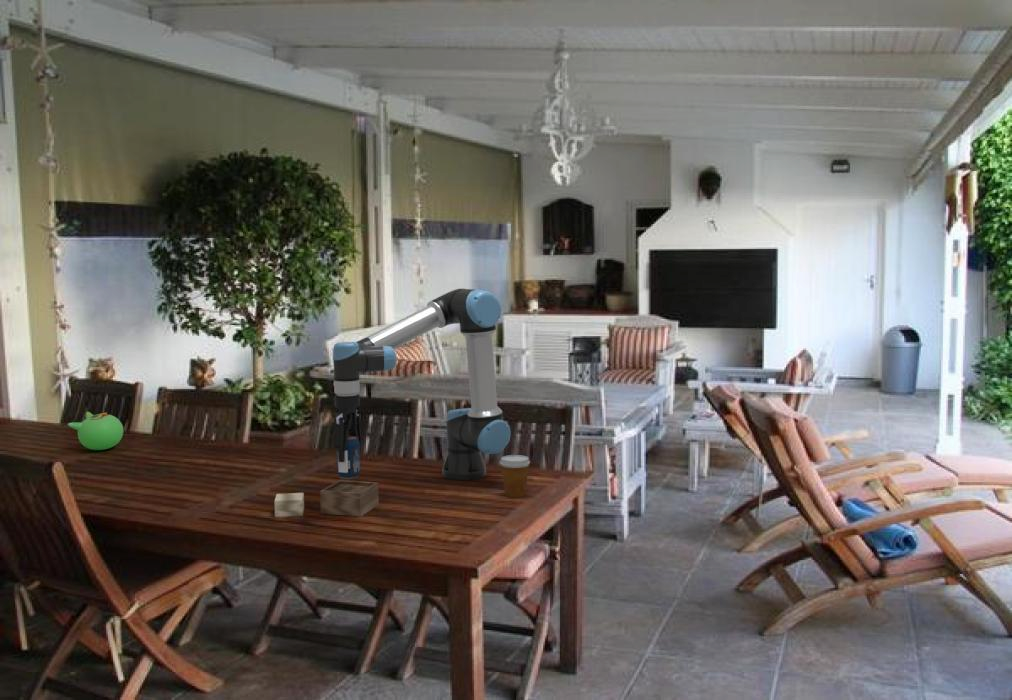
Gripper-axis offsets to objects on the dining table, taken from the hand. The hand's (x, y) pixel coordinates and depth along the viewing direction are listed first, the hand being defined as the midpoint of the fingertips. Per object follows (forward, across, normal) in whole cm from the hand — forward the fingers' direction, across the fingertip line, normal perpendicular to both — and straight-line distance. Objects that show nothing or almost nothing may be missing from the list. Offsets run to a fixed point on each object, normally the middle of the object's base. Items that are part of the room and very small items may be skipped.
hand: (348, 469), depth 288 cm
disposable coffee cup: (+12, -28, +44) cm, 54 cm away
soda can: (+2, 0, 0) cm, 2 cm away
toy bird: (+13, -49, -131) cm, 140 cm away
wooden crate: (+12, 0, 0) cm, 12 cm away
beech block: (+13, +8, -16) cm, 22 cm away
